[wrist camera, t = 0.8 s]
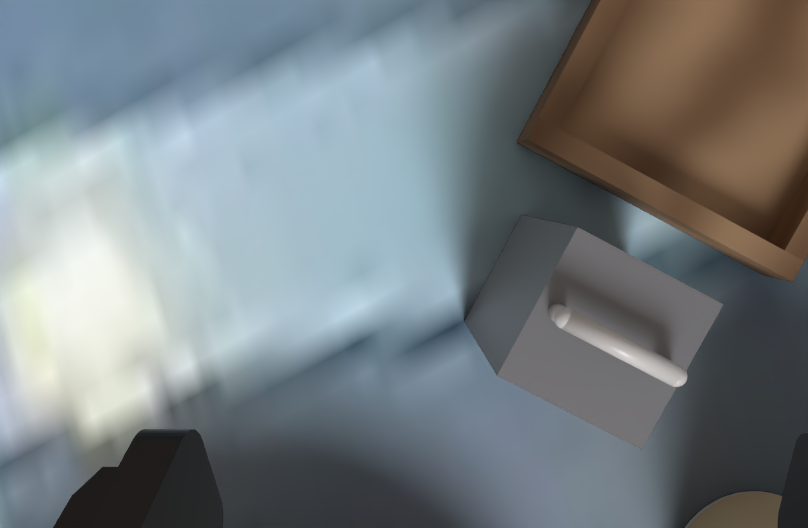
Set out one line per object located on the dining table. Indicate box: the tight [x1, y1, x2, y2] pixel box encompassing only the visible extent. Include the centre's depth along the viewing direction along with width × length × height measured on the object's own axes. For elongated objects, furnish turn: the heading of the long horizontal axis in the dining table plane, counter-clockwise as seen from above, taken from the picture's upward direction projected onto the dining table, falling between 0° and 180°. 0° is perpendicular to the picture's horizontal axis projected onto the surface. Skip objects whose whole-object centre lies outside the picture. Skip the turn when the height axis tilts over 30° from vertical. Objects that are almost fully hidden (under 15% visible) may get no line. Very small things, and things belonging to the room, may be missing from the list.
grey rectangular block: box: [464, 215, 724, 449], centre depth 29 cm, size 6×6×11 cm
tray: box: [517, 0, 808, 282], centre depth 33 cm, size 13×13×2 cm
